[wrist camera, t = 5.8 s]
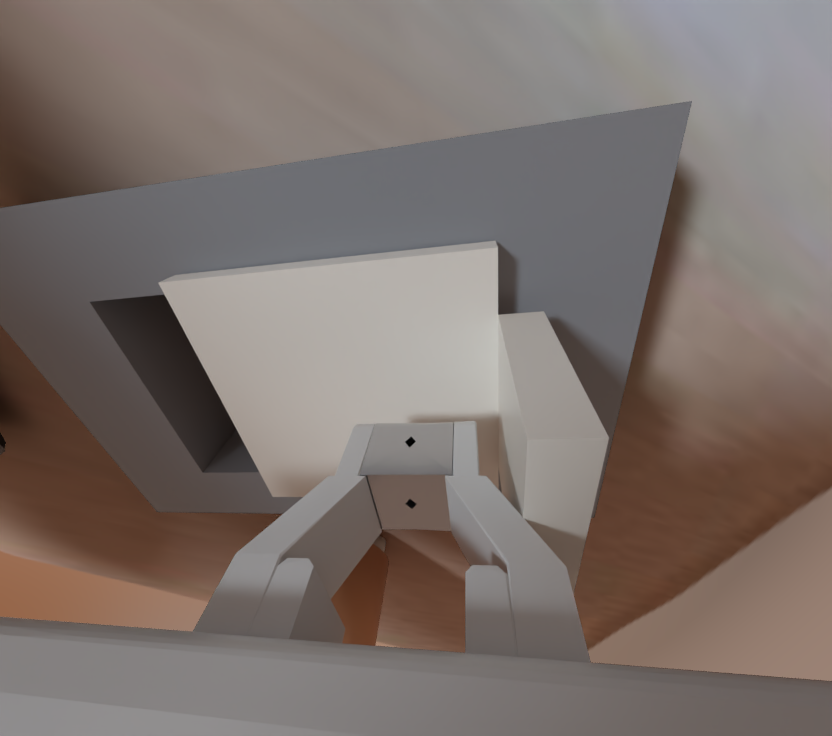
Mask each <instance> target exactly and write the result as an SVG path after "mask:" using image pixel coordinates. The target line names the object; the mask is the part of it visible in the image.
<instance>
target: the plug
mask: <svg viewBox="0 0 832 736" xmlns="http://www.w3.org/2000/svg"><path fill="white" fill-rule="evenodd" d="M385 546H386V540H385V539H384V538H383V537H381V536H378V538H377V539H376V540H375V542H374V543H373V544H372V545H371V547H370V548H369V549H368V551H367V552H366V553H365V555H364V556H363V557H362V559H361V560H360V561H359V563H358V564H357V565H356V567H355V568H354V569H353V571H352V572H351V573H350V574H349V576H348V577H347V578H346V580H345V581H344V582H343V584H342V585H341V586H340V588H339V589H338V590H337V592H336V593H335V594H334V596H333V597H332V598H331V601H332V603H333V605H334V607H335V609H336V611H337V613H338V615H339V617H340V619H341V621H342V623H343V625H344V627H345V632H344V637H343V642H342V643H346V644H359V645H372V646H375V644H376V638H377V632H378V626H379V620H380V614H381V608H382V602H383V596H384V590H385V584H386V578H387V572H388V566H389V561H388V558H387V556H386V554H385V553H384V551H385Z"/></svg>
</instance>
